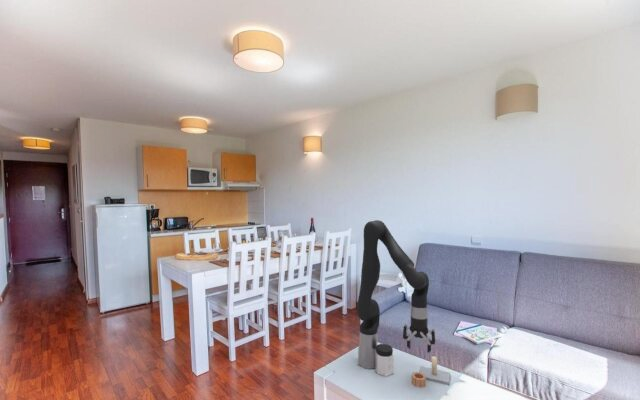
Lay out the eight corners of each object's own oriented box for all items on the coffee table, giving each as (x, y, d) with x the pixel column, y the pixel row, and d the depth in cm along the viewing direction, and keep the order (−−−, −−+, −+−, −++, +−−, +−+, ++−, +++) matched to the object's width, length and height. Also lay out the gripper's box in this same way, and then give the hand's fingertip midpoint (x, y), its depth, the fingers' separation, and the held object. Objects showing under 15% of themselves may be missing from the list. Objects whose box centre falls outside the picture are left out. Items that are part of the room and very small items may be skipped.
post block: (417, 377, 151) (418, 358, 150) (420, 368, 159) (420, 350, 159) (449, 385, 145) (449, 365, 144) (450, 375, 153) (450, 356, 153)
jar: (383, 378, 150) (383, 353, 150) (372, 370, 157) (372, 346, 157) (396, 372, 155) (396, 348, 155) (384, 365, 162) (384, 342, 162)
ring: (411, 385, 145) (411, 377, 145) (413, 378, 150) (413, 371, 150) (424, 388, 142) (424, 381, 142) (426, 381, 148) (426, 374, 147)
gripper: (401, 315, 145) (401, 350, 146) (434, 321, 139) (434, 357, 139) (404, 310, 152) (404, 343, 152) (435, 315, 146) (435, 349, 146)
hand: (418, 350), depth 146 cm, fingers open, 8 cm apart
